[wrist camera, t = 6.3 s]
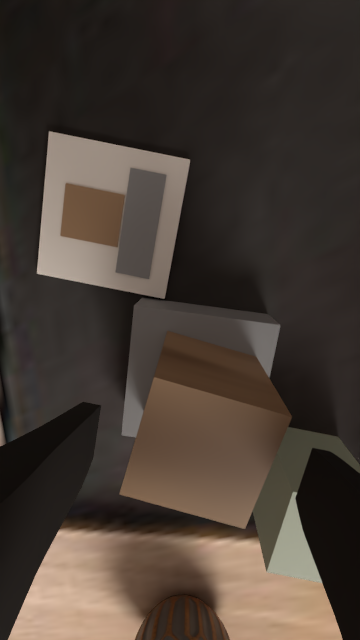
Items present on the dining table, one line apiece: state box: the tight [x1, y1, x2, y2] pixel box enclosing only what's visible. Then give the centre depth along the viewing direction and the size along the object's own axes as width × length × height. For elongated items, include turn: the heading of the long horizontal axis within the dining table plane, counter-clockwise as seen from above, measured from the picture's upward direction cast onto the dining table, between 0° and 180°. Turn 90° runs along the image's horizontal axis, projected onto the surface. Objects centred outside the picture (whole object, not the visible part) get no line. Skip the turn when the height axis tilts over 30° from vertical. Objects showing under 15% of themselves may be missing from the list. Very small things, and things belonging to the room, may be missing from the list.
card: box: [37, 131, 190, 299], centre depth 16 cm, size 7×7×1 cm
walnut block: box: [120, 331, 292, 529], centre depth 13 cm, size 4×4×6 cm
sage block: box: [253, 427, 360, 583], centre depth 17 cm, size 4×4×6 cm
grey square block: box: [122, 297, 280, 437], centre depth 17 cm, size 7×7×3 cm
